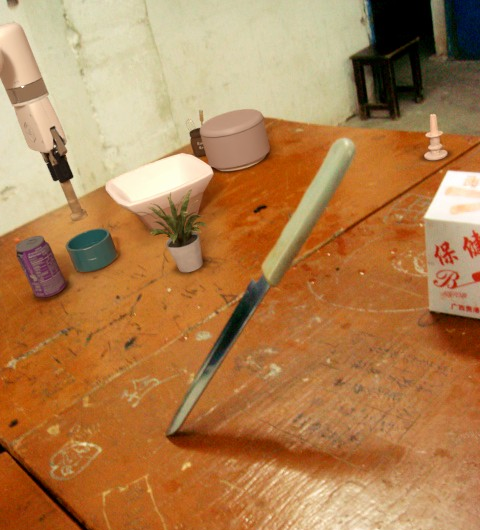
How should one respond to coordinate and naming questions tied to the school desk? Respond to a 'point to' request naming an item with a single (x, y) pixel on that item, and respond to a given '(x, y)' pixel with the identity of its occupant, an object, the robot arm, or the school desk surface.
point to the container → (235, 139)
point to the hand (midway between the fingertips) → (63, 178)
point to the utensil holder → (197, 139)
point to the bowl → (161, 187)
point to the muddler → (72, 200)
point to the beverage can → (40, 266)
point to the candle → (434, 141)
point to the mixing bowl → (91, 250)
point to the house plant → (181, 235)
